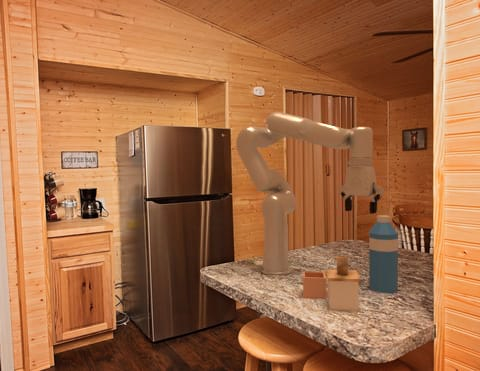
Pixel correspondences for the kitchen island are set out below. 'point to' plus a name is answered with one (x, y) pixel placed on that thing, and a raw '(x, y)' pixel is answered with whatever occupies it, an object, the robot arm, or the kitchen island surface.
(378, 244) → the water bottle
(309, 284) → the orange open box
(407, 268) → the kitchen island surface
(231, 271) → the kitchen island surface
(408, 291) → the kitchen island surface
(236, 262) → the kitchen island surface
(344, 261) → the lid
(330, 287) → the cream open box
